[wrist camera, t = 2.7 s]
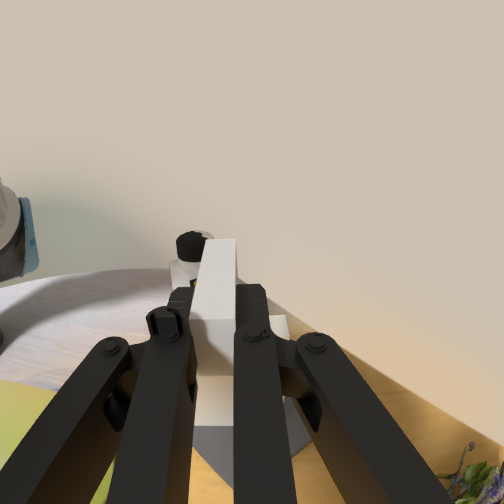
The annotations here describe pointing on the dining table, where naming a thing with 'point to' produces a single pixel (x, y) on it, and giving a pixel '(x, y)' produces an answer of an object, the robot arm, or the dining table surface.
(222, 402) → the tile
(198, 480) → the dining table surface
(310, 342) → the robot arm
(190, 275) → the medicine bottle
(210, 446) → the mat
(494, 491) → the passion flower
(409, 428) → the dining table surface
